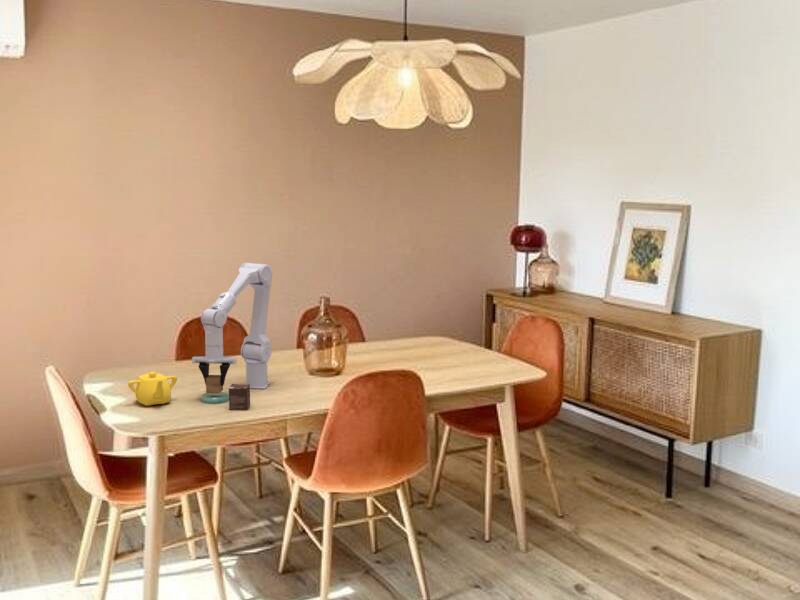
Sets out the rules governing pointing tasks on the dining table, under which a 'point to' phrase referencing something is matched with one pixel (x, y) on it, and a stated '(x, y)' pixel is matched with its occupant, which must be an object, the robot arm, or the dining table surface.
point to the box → (239, 396)
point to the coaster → (215, 398)
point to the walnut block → (213, 384)
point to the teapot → (152, 388)
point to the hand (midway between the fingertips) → (214, 384)
